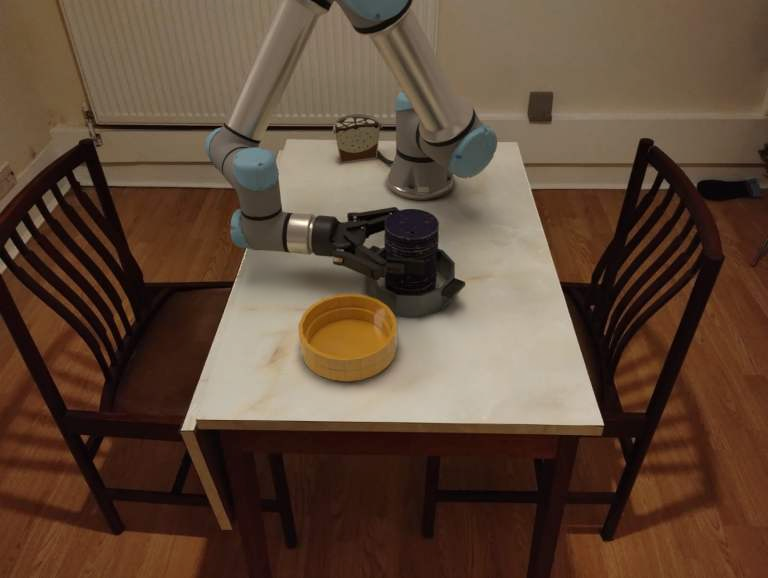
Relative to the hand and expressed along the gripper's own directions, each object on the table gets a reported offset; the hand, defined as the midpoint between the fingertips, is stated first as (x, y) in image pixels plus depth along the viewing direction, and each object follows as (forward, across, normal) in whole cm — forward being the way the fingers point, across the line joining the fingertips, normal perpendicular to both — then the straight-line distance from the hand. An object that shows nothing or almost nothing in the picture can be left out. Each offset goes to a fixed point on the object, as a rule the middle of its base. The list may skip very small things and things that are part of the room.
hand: (429, 245), depth 121 cm
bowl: (-11, +18, -10) cm, 24 cm away
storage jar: (-3, 0, -11) cm, 11 cm away
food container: (-24, -51, -11) cm, 58 cm away
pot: (-3, 0, -10) cm, 11 cm away
